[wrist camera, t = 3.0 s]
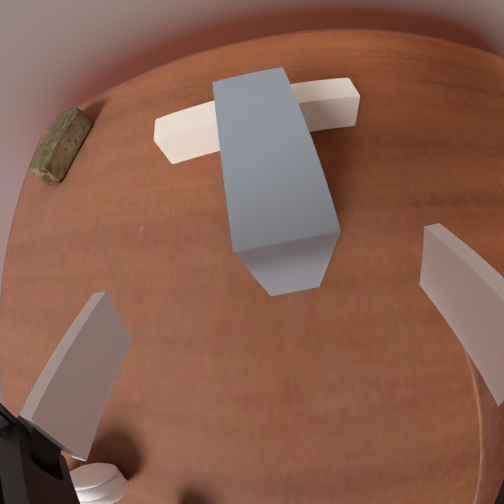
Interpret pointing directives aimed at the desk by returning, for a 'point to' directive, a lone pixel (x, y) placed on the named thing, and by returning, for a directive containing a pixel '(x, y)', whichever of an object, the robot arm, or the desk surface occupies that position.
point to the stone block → (60, 146)
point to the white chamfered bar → (205, 124)
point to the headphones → (99, 483)
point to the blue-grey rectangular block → (273, 183)
